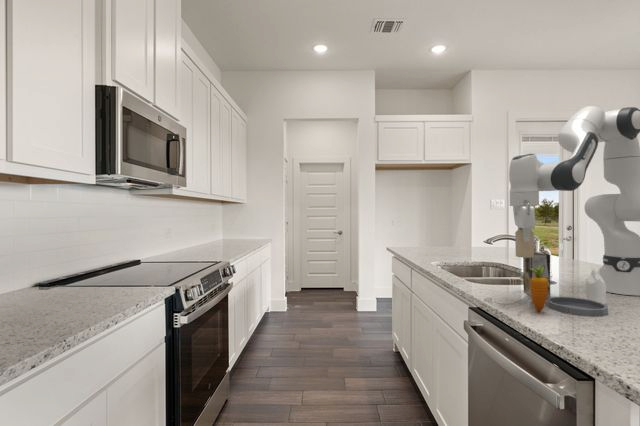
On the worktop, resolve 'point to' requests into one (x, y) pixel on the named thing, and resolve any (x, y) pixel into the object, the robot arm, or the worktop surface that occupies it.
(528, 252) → the candle
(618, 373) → the worktop surface
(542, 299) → the carrot
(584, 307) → the dish
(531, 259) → the coffee box
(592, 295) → the white plastic bottle
